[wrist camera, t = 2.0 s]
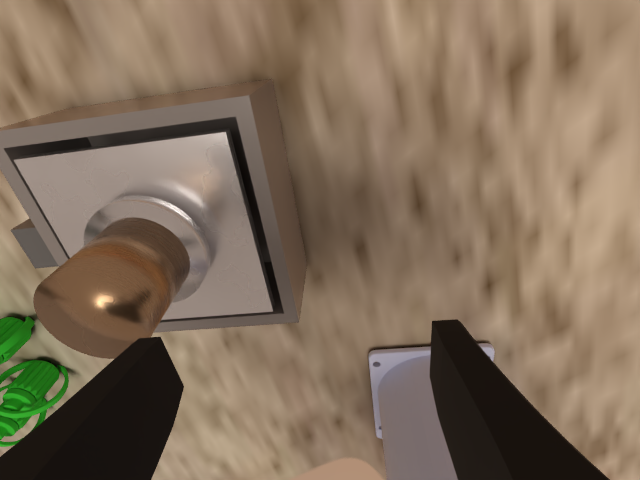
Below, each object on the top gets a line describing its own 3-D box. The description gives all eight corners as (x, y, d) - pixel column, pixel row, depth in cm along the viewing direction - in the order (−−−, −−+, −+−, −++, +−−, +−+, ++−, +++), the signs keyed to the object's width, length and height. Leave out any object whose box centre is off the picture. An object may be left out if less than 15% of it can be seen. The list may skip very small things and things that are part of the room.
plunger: (274, 304, 17) (252, 398, 12) (113, 316, 17) (41, 408, 13) (229, 128, 13) (173, 178, 8) (23, 155, 13) (-121, 213, 9)
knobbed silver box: (307, 262, 21) (298, 322, 17) (123, 278, 22) (71, 338, 18) (273, 77, 16) (249, 95, 12) (39, 112, 17) (-61, 139, 13)
